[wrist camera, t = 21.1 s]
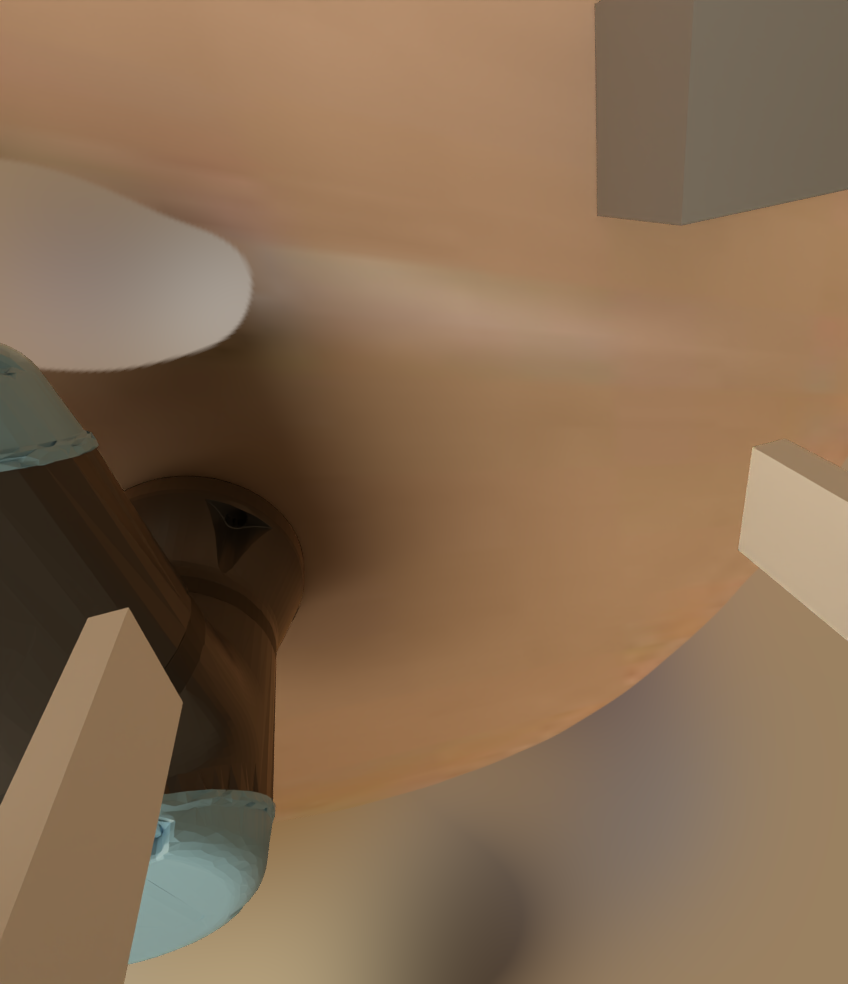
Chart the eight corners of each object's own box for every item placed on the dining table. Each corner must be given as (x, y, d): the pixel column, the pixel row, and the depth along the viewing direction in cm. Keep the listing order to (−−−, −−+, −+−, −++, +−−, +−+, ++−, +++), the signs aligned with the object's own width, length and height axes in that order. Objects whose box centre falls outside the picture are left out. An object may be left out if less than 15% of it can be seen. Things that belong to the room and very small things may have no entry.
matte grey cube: (748, 183, 36) (870, 184, 28) (597, 215, 35) (681, 225, 28) (771, -28, 31) (927, -95, 23) (594, 4, 30) (696, -56, 22)
